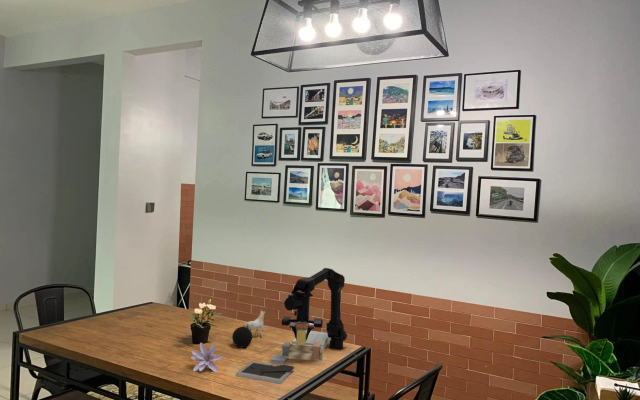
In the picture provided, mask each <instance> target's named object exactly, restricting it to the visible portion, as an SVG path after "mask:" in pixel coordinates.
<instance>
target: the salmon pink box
mask: <svg viewBox="0 0 640 400" xmlns="http://www.w3.org/2000/svg"><path fill="white" fill-rule="evenodd" d="M319 351H320V342H314V344H313V358H312V359H319Z"/></svg>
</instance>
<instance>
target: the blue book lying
mask: <svg viewBox="0 0 640 400" xmlns="http://www.w3.org/2000/svg"><path fill="white" fill-rule="evenodd" d="M286 361H287V358H286V356H281V354H273V355H272V357H271V359H270V364H277V365H278V364H280V365H285V362H286Z"/></svg>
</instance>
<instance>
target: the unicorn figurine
mask: <svg viewBox="0 0 640 400" xmlns="http://www.w3.org/2000/svg"><path fill="white" fill-rule="evenodd" d="M265 313H266V311H263V310H262V308H261V309H260V314H259V315H258V316H257V318H256V319H254V320H250V321H247V322H246V321H245V322H243V324H242V327H247V328H248V329H250V331H251V332H252V330H255V333H254V334H253V337H254V338H258V337H260V339H262V338H263V336H264V335H265V331H266V330H265V328H264V317H265ZM259 329H261V330H262V332H260V336H258V330H259Z"/></svg>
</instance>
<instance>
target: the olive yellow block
mask: <svg viewBox="0 0 640 400" xmlns="http://www.w3.org/2000/svg"><path fill="white" fill-rule="evenodd" d="M307 328H308V327H304V326H303V327H301V326H298V327H297V342H296V345H305V343H306V330H307Z"/></svg>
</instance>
